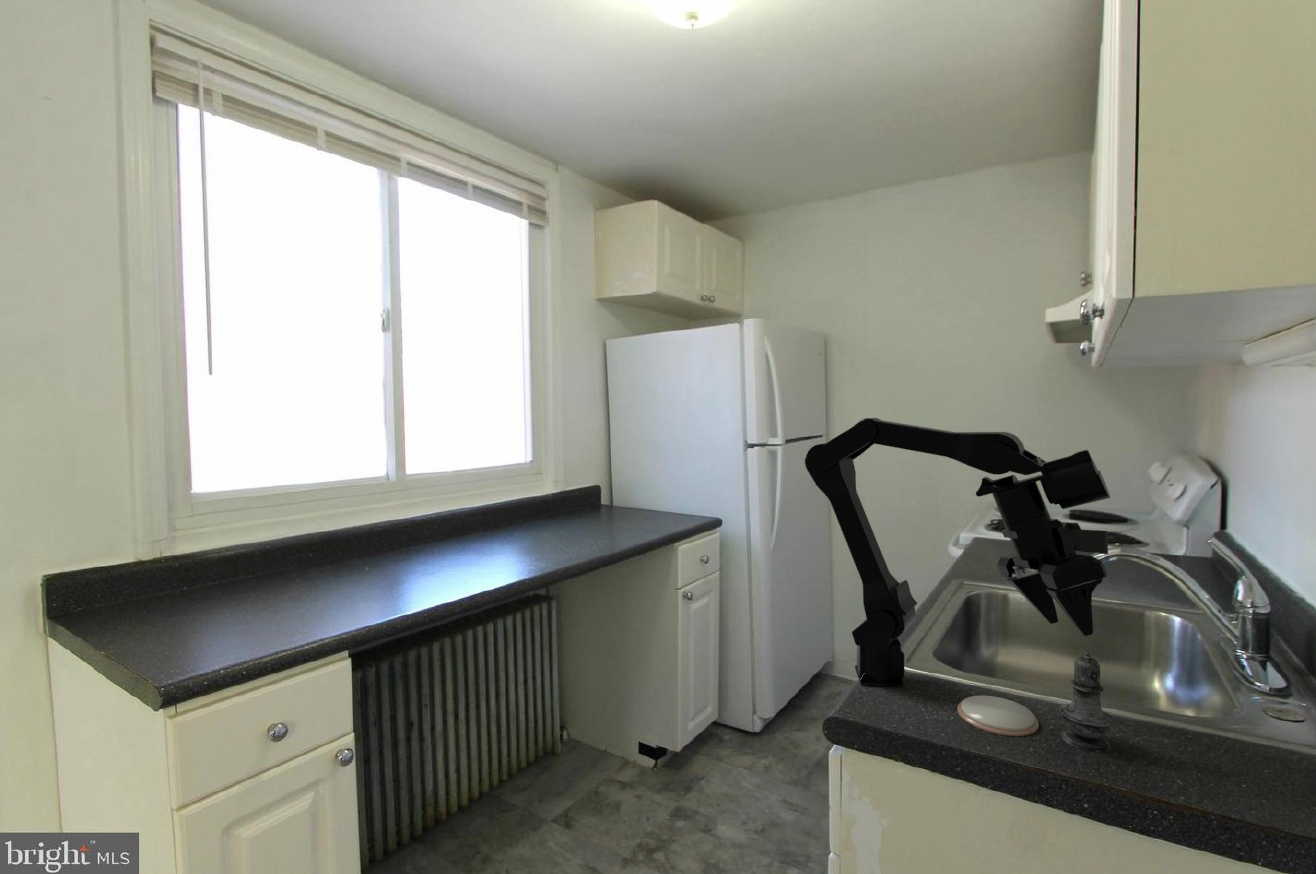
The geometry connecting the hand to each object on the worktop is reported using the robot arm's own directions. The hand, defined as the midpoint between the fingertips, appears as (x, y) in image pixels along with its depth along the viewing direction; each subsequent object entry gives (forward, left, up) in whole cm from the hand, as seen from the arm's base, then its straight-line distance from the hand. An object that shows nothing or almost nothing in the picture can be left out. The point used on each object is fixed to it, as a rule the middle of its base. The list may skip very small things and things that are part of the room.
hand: (1070, 628), depth 86 cm
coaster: (-9, +1, -13) cm, 16 cm away
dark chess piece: (0, -4, -14) cm, 14 cm away
